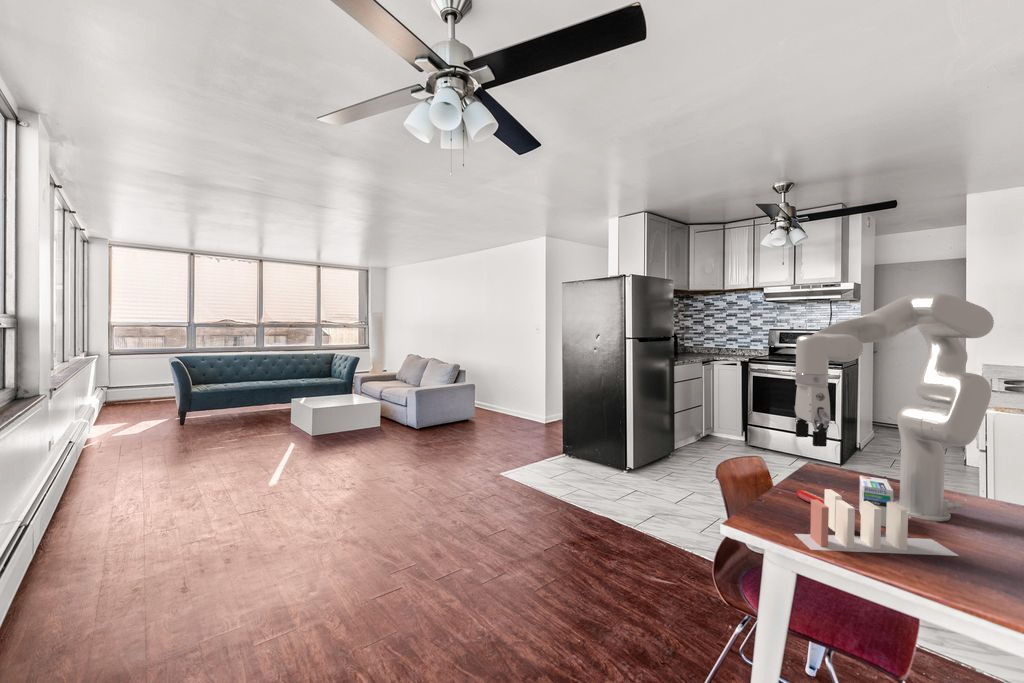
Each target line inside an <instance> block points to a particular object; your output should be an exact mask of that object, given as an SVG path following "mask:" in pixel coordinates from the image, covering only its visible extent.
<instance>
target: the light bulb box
mask: <svg viewBox="0 0 1024 683" xmlns="http://www.w3.org/2000/svg"><path fill="white" fill-rule="evenodd" d="M861 501H869V502H870V503H872V504H874V505H875V506H877V507H879V508H880V509H881V527H884V528H886V512H887V502H894V489H893V487H892V486H891V484H890V482H889V479H885V478H880V477H879V478H878V477H872V476H867V475H866V476H865V475H859V506H858V509H859V511H858V512H859V513H860V515H861Z"/></svg>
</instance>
